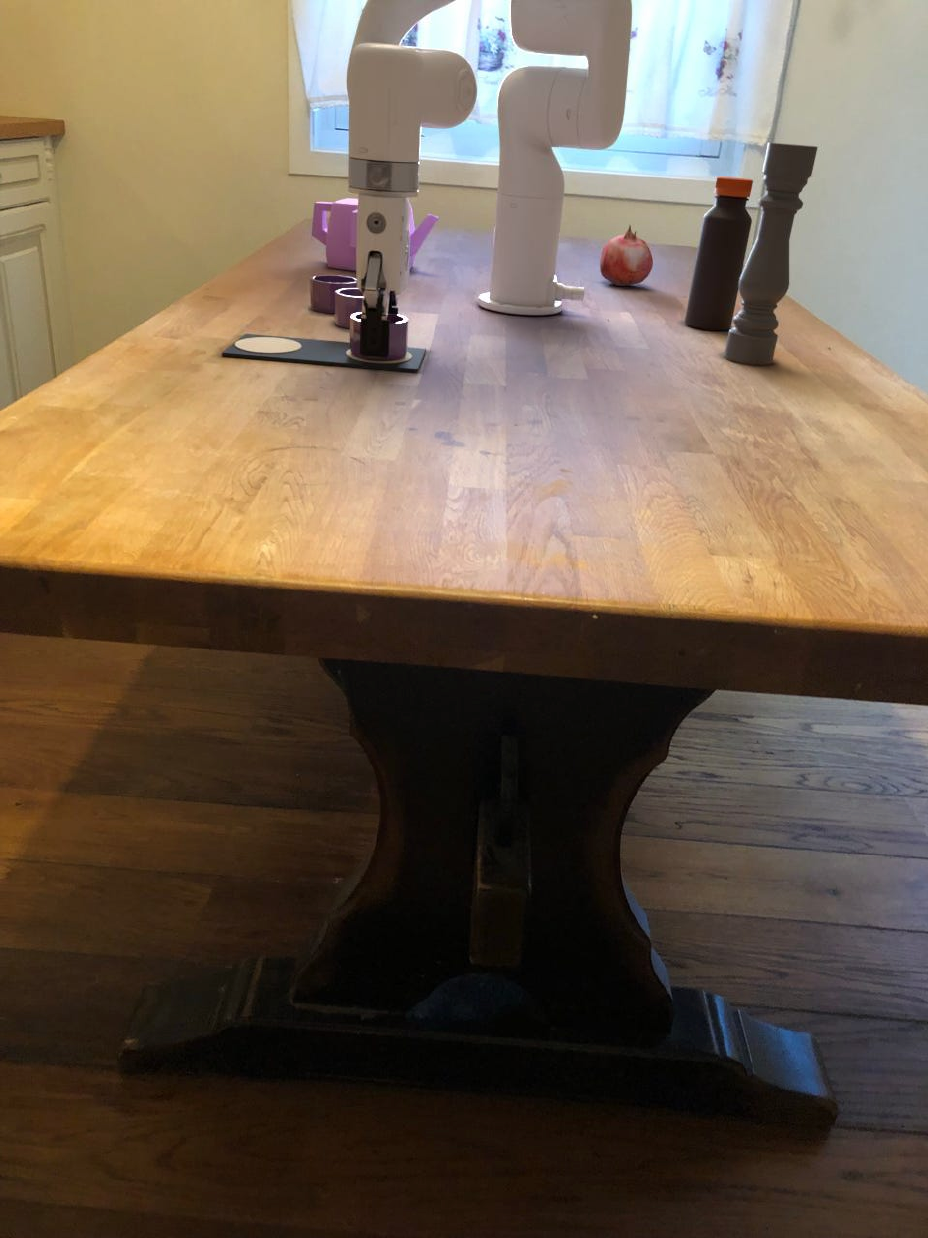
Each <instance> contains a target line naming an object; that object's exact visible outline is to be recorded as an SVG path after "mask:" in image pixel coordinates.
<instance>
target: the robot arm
mask: <svg viewBox="0 0 928 1238" xmlns="http://www.w3.org/2000/svg"><path fill="white" fill-rule="evenodd" d="M458 1H459V0H366V2H365V5H364V7H363V9H362V11H361V13H360V16H359V19H358V20H359V21H358V23H357V27H356V31H355V34H354V38H353V41H352V46H351V49H350V53H349V58H348V64H347V69H346V93H347V97H348V161H347V162H348V164H347V165H348V167H347V168H348V169H347V170H348V173H347V175H348V176H347V177H348V178H347V191H348V193H351V194H356V195H357V199H358V213H357V246H356V271H355V272H356V277H355V278H356V279H357V288H358V289H359V290H360V291H361V292H363V301H362V314H361V317H362V318H361V319H360V354H361V355H363V356H373V357H387V356H388V355H389V336H390V320H387V317H388V313H392V314H397V315H399V307H398V296H399V295H401V294H402V293H403V292H404V291H405V290H406V288H407V287H408V284H409V283H410V269H409V259H410V205H411V203H410V198H418V197H419V186H420V162H421V140H422V139H421V138H422V128H425V129H426V128H427V129H439V130H442V129H443V130H444V129H445V130H446V129H452V128H455V127H458V126H459V125H461V124H463V123H464V122H465V121H466V120H467V119H468V118H469V117H470V115H471V114H472V112H473V110H474V108H475V105H476V103H477V102H476V101H477V96H478V82H477V78H476V73H475V71H474V69H473V67H472V65H471V64H470V62H469V61H468V60H467V59H466V58H465V57H464V56H463V55H462V54H459V53H457V52H456V51H454V50H450V49H442V48H428V47H421V46H407V45H401V44H402V42H403V40H404V39H405V37H406V36H407V35H408V33H409V32H410V31H411V30H412V29H413V28H414V27H415V26H416V25H417V24H418V23H420V22H421V21H422V20H423V19H425V18H426V17H427V16H429V15H431V14H433V13H434V12H436V11H438V10H440V9H443V8H444V7H445V8H446V7H447V6H449V5H451V4H453V3H455V2H458ZM632 25H633V3H632V0H509V30H510V36H511V39H512V42H513V44H514V45H515V47H516V48H518V49H519V50H521V51H523V52H525V53H528V54H533V55H544V56H555V57H556V56H558V57H574V58H583V59H584V60H585V62H586V67H587V68H579V67H578V68H577V67H566V66H555V65H554V66H553V65H538V64H537V65H525V66H520V67H516V68H514V69H512V70H511V71H509V72H508V73H507V74H506V75H505V76H504V78H503V79H502V81H501V83H500V85H499V87H498V91H497V96H496V97H497V98H496V114H497V127H498V142H499V143H498V144H499V146H498V147H499V157H498V158H499V160H498V178H497V192H496V203H495V204H496V205H495V213H494V214H495V216H494V228H493V241H492V255H491V266H490V280H489V290H488V291H489V292H485V293H482V294H480V295H479V296H478V302H477V303H478V305H479V306H480V307H481V308H484V309H486V310H490V311H492V312H493V311H494V312H498V313H503V314H510V315H518V316H549V315H555V314H559V313H561V311H562V310H563V309H562V307H563V303H562V300H569V301H570V300H571V301H574V302H575V301H576V302H584V298H585V287H581V286H576V285H564V283H560V282H559V283H558V279H557V275H556V269H557V259H558V253H559V251H558V250H559V241H560V233H561V222H562V214H563V204H564V197H565V185H566V184H565V177H564V172H563V170H562V167H561V164H560V163H559V161H558V159H557V156H556V155H555V152H554V150H553V148H568V149H578V150H590V151H601V150H605V149H608V148H610V147H612V146H613V145H614V144H615V143H616V141H617V140H618V139H619V136H620V133H621V131H622V127H623V124H624V116H625V112H626V110H625V109H626V100H627V88H628V76H629V65H630V64H629V63H630V51H631V39H632V29H633V28H632V27H633V26H632Z"/></svg>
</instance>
